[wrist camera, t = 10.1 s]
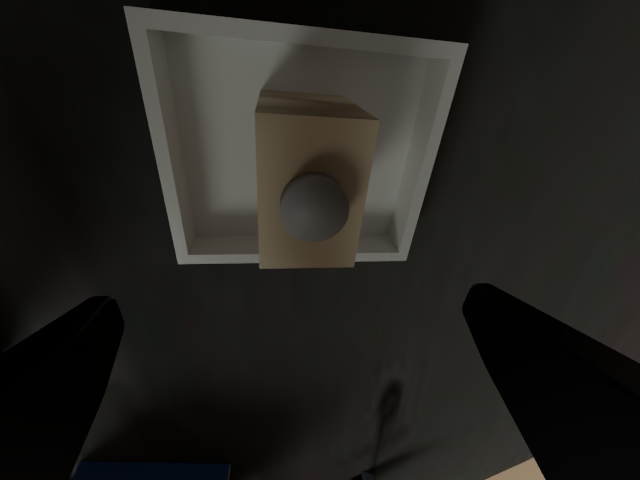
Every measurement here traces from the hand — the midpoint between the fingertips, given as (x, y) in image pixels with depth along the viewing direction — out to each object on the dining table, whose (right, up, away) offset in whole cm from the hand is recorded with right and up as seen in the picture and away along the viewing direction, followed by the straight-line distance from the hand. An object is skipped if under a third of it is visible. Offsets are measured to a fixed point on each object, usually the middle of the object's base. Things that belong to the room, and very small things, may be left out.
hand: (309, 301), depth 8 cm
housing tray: (-1, +6, +9) cm, 11 cm away
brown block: (-1, +6, +8) cm, 10 cm away
